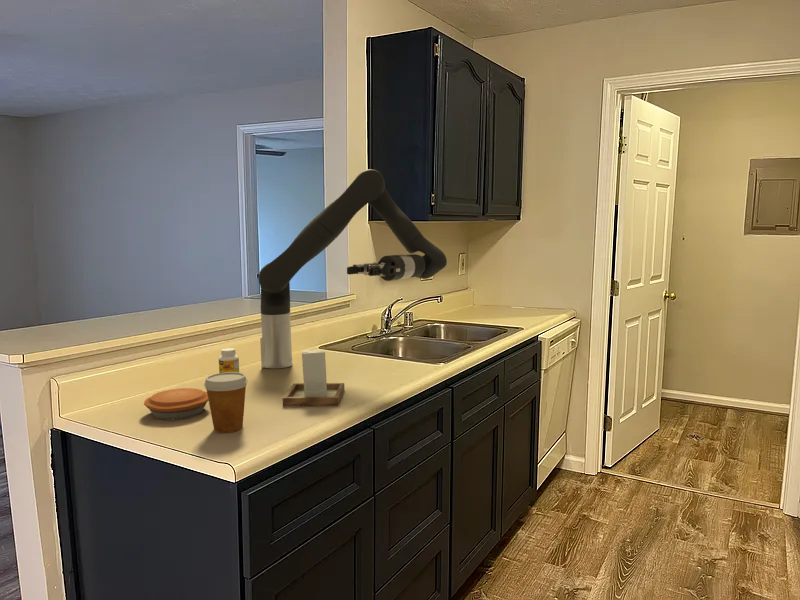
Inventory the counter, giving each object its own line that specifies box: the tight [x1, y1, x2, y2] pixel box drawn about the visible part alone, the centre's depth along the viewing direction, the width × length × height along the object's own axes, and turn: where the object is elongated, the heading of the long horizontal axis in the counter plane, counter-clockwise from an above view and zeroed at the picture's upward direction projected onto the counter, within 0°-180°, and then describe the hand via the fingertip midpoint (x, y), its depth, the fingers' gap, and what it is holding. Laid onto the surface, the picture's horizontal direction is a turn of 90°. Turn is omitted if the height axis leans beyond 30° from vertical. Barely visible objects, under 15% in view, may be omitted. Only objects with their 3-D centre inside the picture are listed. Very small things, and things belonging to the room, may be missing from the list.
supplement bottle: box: [218, 347, 240, 373], centre depth 178 cm, size 6×6×10 cm
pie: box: [143, 387, 209, 421], centre depth 153 cm, size 16×16×5 cm
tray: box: [282, 382, 345, 408], centre depth 163 cm, size 14×14×2 cm
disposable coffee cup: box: [203, 371, 249, 434], centre depth 140 cm, size 10×10×12 cm
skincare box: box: [301, 348, 328, 397], centre depth 162 cm, size 6×4×12 cm
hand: (358, 271), depth 174 cm, fingers open, 8 cm apart
